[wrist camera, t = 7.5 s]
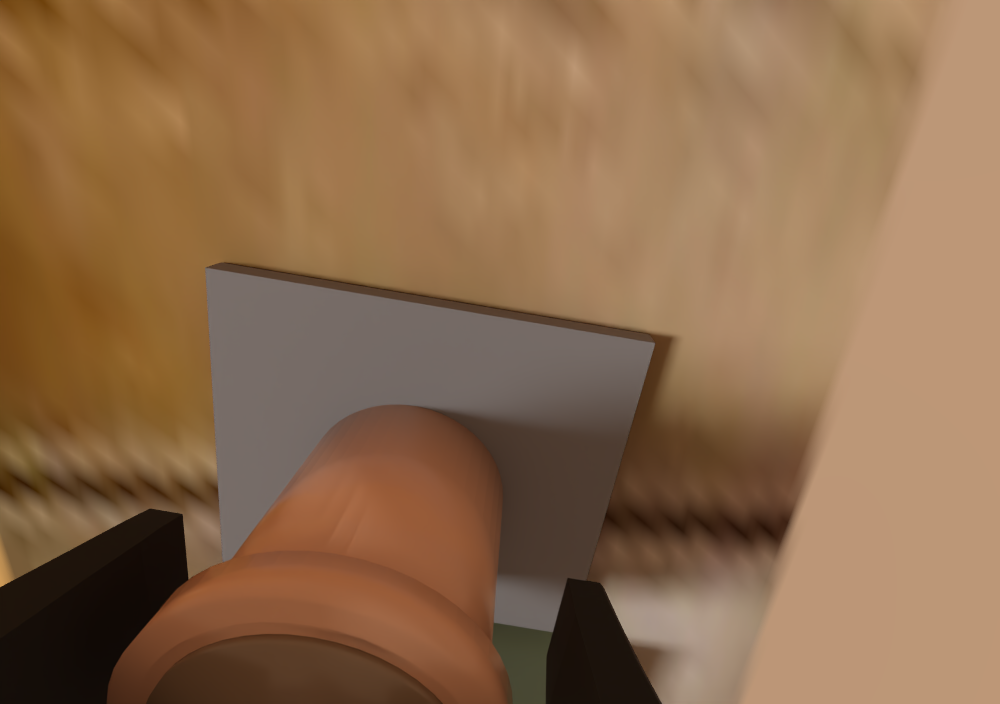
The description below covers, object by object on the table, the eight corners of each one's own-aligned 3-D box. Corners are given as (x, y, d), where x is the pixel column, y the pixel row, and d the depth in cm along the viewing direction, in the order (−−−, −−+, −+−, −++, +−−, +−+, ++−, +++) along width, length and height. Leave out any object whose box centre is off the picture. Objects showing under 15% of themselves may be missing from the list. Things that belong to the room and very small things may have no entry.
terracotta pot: (499, 594, 14) (478, 903, 8) (292, 560, 14) (124, 846, 8) (538, 411, 12) (547, 650, 6) (294, 370, 12) (67, 573, 6)
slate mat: (569, 617, 15) (570, 635, 14) (235, 562, 15) (223, 578, 14) (649, 334, 11) (655, 343, 11) (221, 262, 11) (205, 267, 11)
